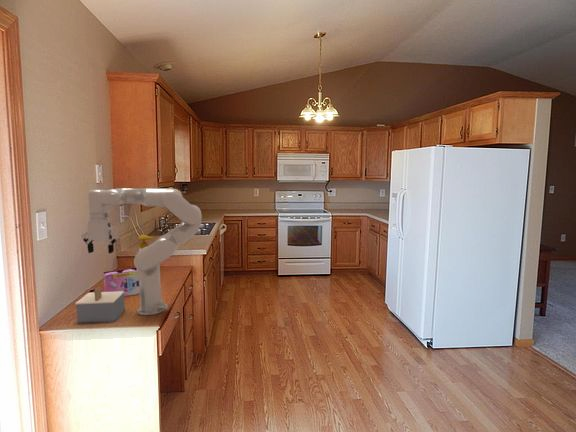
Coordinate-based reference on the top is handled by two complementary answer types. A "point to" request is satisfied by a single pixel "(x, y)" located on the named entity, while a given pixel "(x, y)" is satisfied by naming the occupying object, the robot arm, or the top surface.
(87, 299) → the carton flap
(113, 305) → the carton
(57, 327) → the top surface
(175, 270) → the top surface
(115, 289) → the gum box
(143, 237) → the soap bottle
